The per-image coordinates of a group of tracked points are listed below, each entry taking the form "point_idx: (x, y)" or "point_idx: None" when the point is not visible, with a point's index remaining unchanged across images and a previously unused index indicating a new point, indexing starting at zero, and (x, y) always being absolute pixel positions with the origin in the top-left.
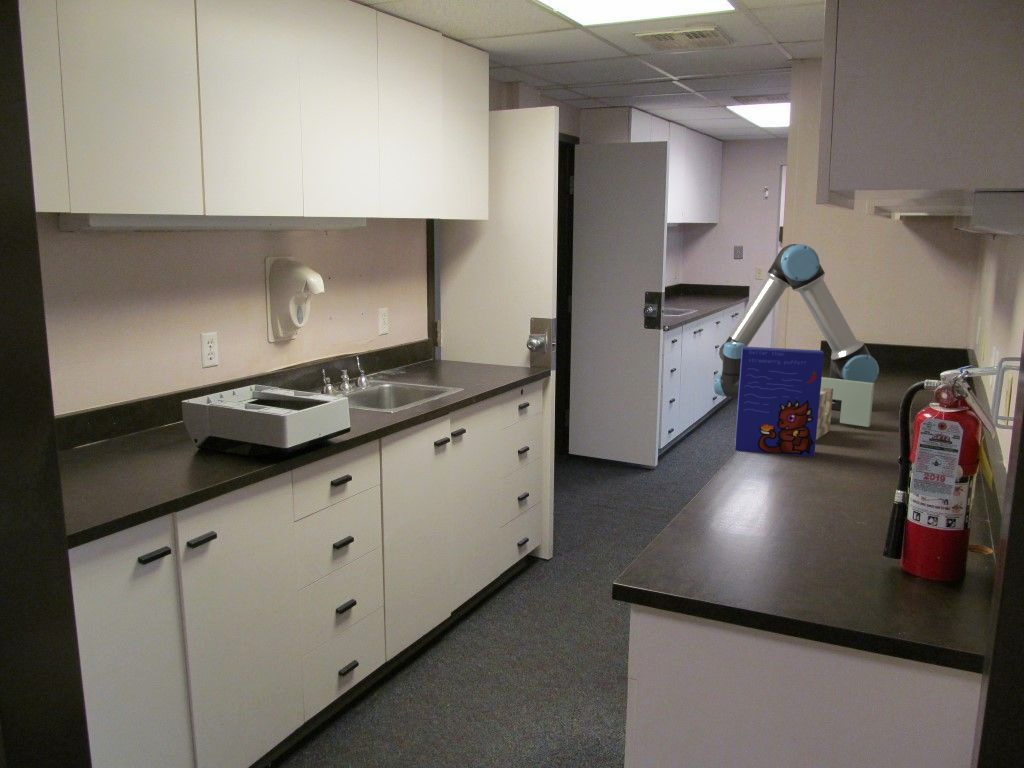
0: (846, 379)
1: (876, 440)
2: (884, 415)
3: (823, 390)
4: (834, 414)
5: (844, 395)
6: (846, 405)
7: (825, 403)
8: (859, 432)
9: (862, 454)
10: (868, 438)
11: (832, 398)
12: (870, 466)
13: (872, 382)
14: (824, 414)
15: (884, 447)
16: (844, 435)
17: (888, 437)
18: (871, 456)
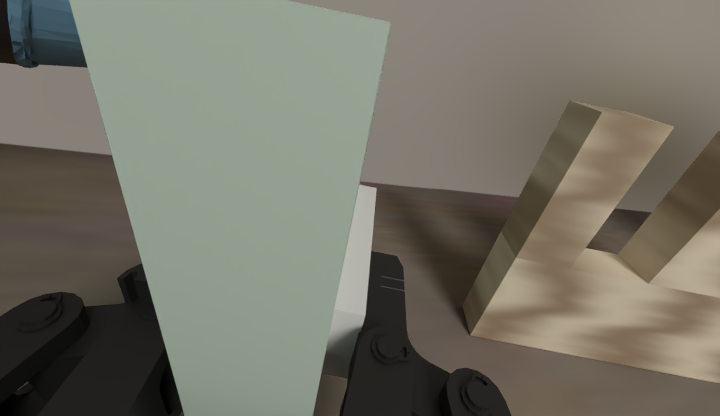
0: None
1: (456, 207)
2: (66, 159)
3: (659, 140)
4: (6, 294)
5: (370, 129)
6: (361, 174)
7: (672, 201)
8: (395, 228)
9: (620, 237)
10: (452, 217)
11: (535, 166)
12: None
13: None
14: (629, 252)
15: (506, 202)
16: (479, 262)
17: (400, 187)
18: (610, 225)
